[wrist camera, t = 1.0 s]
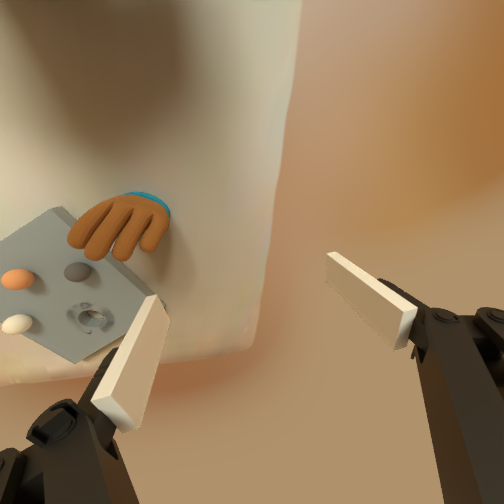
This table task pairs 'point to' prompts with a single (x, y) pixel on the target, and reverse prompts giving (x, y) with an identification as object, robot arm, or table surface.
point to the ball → (17, 279)
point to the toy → (120, 226)
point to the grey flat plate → (67, 289)
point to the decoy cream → (17, 324)
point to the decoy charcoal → (77, 272)
